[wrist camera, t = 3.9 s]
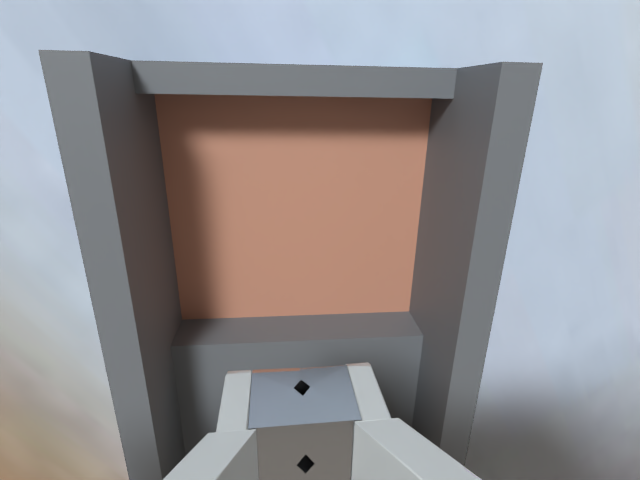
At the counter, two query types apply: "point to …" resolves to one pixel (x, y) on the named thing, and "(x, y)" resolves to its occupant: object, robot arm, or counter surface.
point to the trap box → (288, 230)
